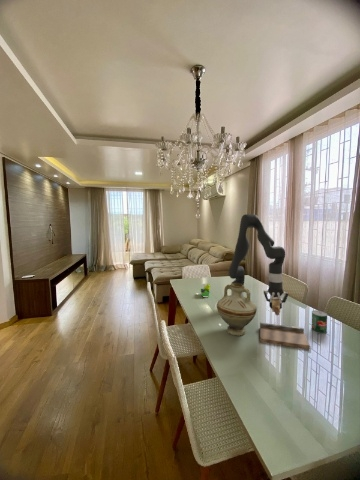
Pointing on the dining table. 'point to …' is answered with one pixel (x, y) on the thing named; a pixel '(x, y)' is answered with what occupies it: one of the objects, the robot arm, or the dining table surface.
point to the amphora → (236, 309)
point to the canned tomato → (319, 321)
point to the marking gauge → (276, 305)
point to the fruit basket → (205, 290)
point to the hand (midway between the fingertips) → (275, 308)
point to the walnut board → (283, 335)
